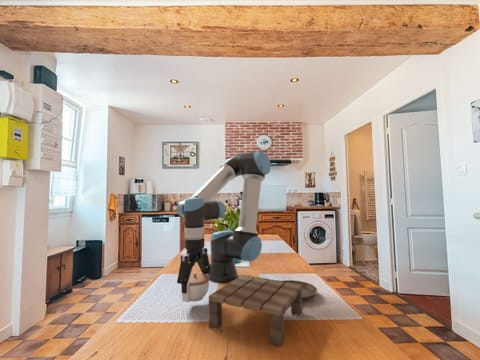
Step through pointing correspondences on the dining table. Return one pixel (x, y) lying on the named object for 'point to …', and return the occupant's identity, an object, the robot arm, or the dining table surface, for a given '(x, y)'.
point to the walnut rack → (258, 301)
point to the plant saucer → (305, 290)
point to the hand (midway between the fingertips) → (195, 295)
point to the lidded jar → (198, 286)
